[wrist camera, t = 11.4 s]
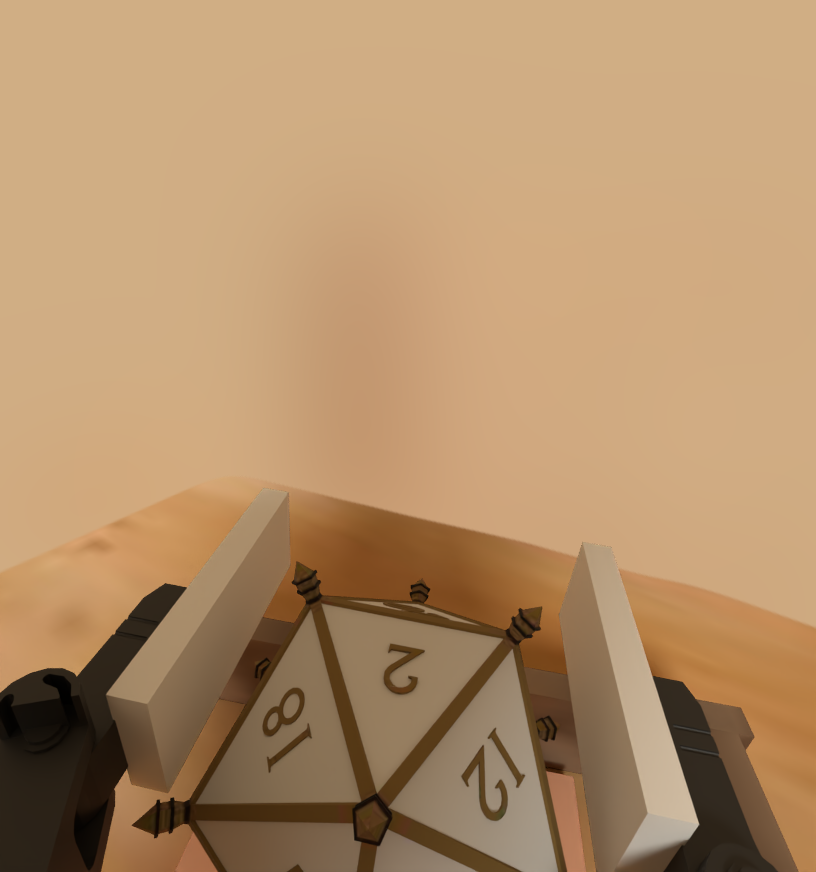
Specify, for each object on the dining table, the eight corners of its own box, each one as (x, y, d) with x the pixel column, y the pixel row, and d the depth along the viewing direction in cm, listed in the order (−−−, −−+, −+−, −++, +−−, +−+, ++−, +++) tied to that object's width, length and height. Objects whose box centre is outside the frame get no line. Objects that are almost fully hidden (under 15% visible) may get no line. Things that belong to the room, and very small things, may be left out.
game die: (305, 890, 15) (165, 590, 15) (547, 747, 16) (428, 470, 16) (287, 1520, 6) (-72, 815, 6) (810, 1095, 8) (563, 500, 7)
